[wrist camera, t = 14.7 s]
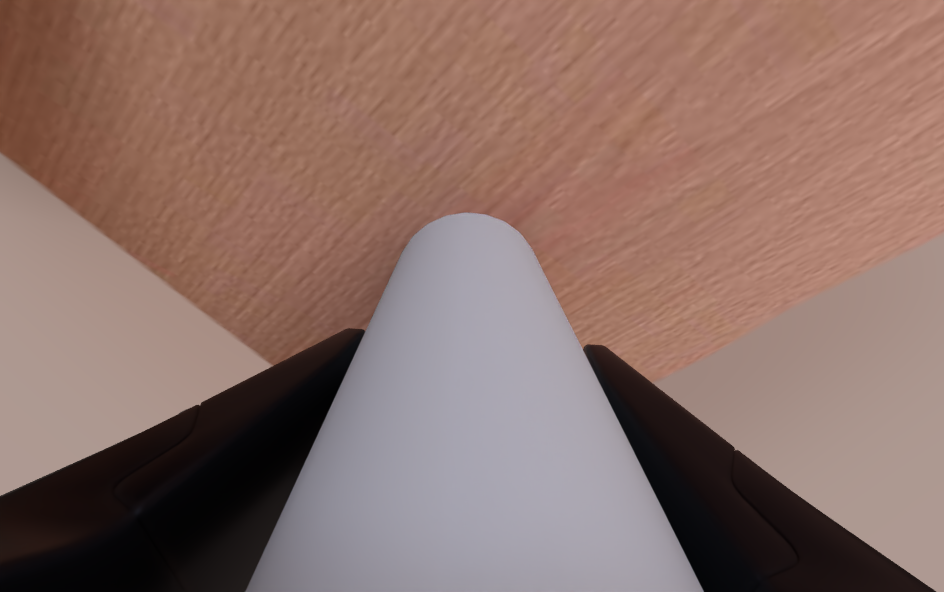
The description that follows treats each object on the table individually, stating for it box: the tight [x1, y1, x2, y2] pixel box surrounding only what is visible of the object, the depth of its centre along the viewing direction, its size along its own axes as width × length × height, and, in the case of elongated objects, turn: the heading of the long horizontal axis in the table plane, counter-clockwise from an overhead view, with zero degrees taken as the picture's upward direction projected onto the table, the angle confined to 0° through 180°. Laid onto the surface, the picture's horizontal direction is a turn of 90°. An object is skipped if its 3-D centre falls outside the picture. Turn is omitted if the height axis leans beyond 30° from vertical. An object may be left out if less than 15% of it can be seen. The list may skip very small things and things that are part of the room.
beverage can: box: [245, 212, 704, 592], centre depth 8 cm, size 5×5×12 cm
